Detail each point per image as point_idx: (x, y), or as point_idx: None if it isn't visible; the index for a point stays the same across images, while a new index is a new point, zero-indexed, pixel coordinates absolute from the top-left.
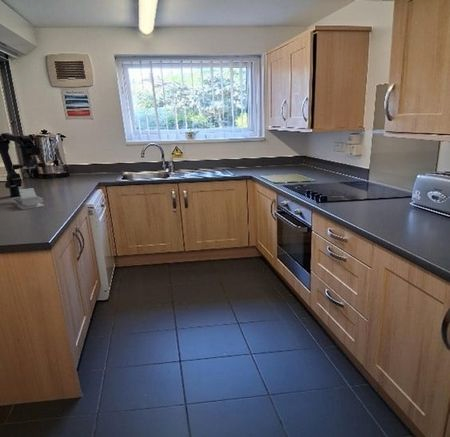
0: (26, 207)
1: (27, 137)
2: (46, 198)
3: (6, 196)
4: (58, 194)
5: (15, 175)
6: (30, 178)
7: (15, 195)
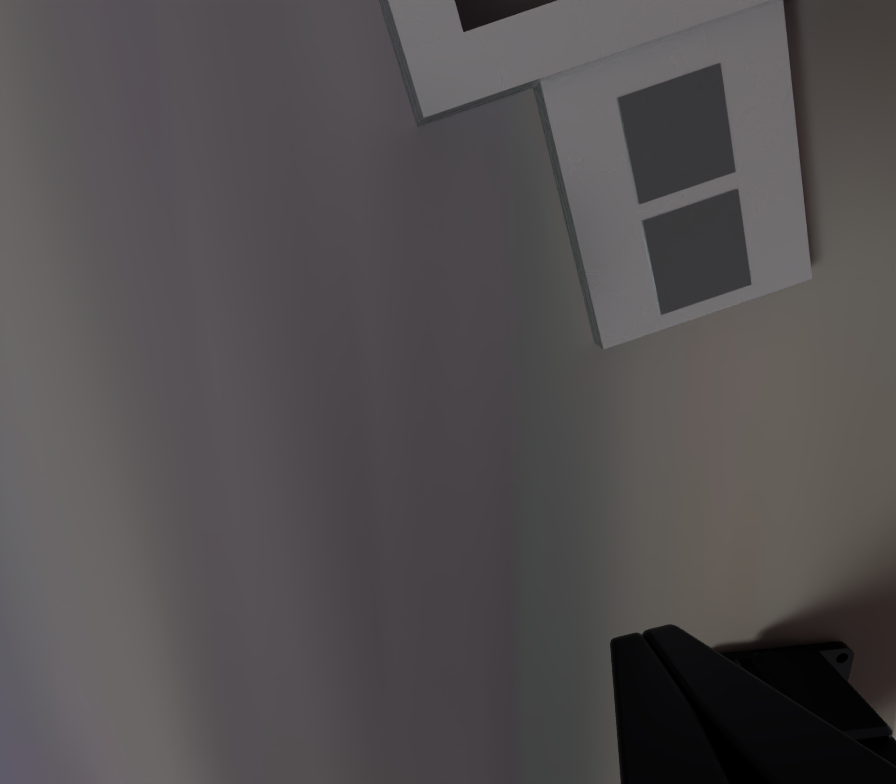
0: None
1: None
2: (209, 120)
3: None
4: (17, 495)
5: None
6: (664, 631)
7: (776, 651)
